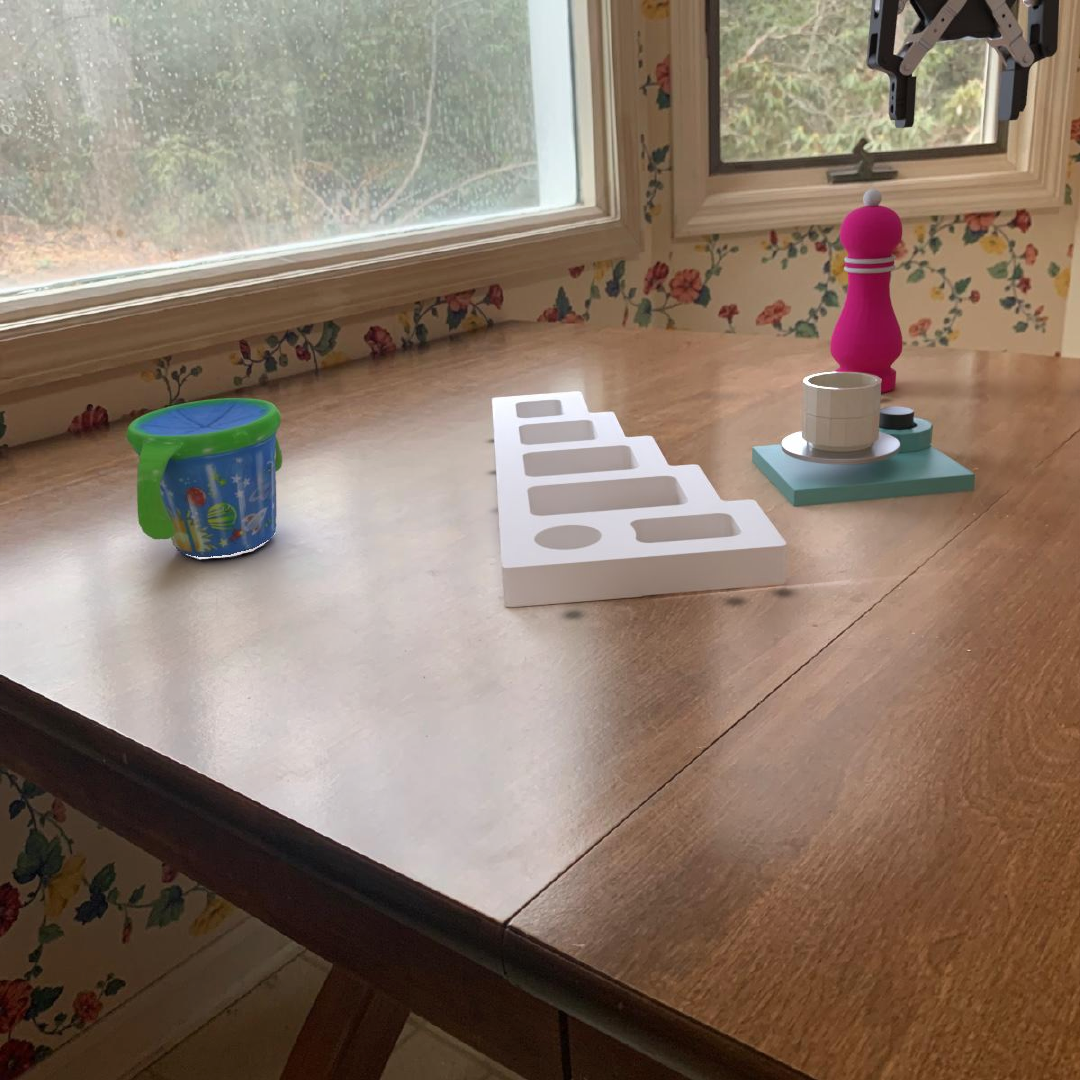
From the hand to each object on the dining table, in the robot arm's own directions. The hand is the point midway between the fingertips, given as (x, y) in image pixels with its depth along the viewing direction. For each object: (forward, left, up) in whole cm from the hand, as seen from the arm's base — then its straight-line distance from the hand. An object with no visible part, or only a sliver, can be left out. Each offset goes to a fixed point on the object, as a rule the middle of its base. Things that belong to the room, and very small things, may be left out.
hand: (956, 123), depth 87 cm
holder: (+30, +5, -26) cm, 40 cm away
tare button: (+6, +4, -23) cm, 24 cm away
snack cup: (+60, +11, -26) cm, 66 cm away
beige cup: (+12, +10, -23) cm, 27 cm away
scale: (+10, +8, -26) cm, 29 cm away
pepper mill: (-1, -20, -26) cm, 33 cm away
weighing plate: (+12, +10, -23) cm, 28 cm away
